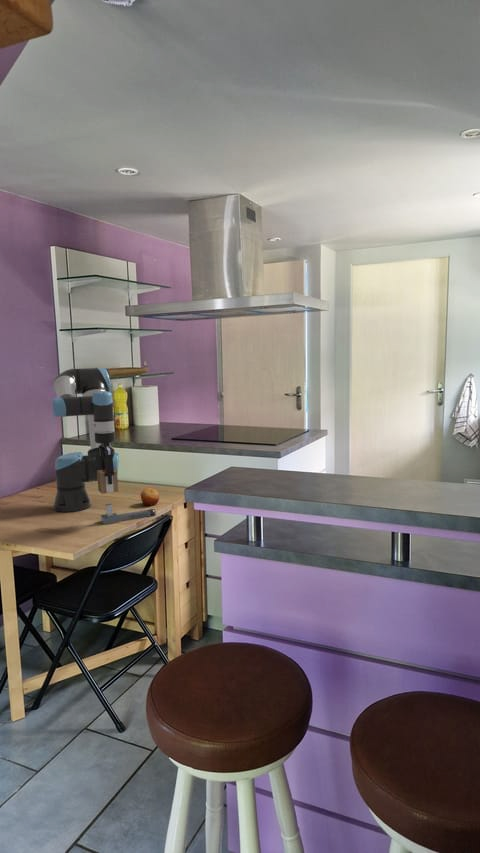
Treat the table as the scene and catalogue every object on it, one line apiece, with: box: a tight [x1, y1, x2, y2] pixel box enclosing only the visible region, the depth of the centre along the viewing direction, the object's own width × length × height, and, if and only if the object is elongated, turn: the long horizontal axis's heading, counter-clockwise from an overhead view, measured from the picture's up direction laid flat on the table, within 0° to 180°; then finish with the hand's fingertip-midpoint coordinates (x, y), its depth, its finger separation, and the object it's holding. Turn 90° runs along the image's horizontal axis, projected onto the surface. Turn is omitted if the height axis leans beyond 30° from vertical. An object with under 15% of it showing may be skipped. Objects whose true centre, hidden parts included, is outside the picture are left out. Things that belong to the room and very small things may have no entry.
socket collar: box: [97, 469, 119, 495], centre depth 210 cm, size 6×6×8 cm
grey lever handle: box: [100, 503, 157, 526], centre depth 216 cm, size 5×22×7 cm, turn 116°
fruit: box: [140, 487, 160, 507], centre depth 236 cm, size 8×8×8 cm
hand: (108, 490), depth 211 cm, fingers closed on socket collar, 6 cm apart
